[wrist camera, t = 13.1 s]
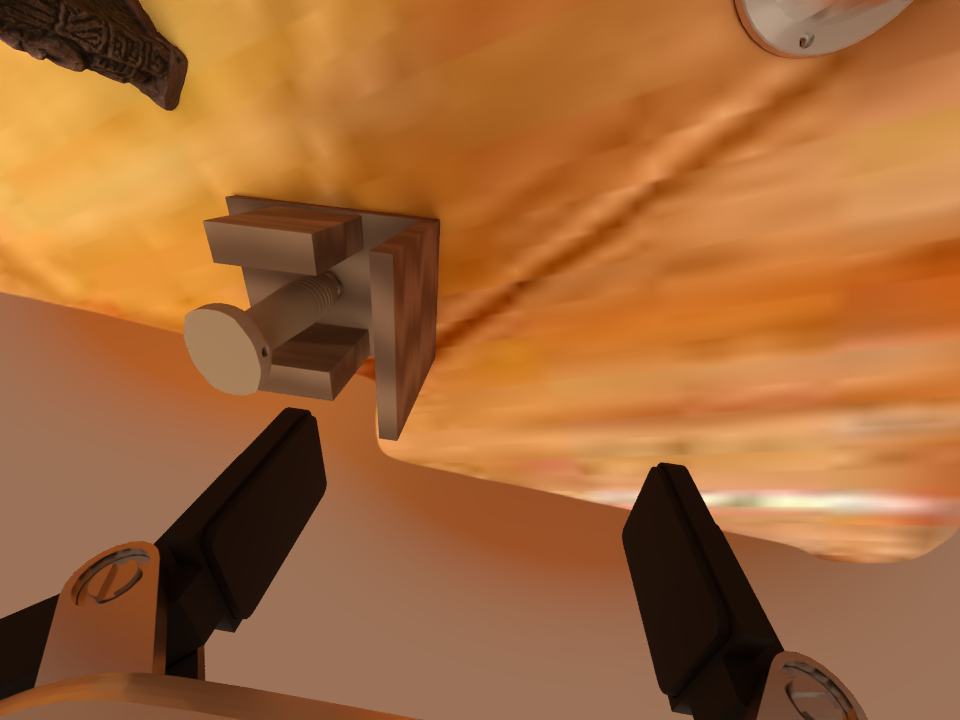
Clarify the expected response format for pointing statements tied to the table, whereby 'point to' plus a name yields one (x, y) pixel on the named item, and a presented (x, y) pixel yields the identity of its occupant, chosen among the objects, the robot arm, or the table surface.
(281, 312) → the handle
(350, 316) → the wooden stand
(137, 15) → the statue
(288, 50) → the table surface
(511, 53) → the table surface
